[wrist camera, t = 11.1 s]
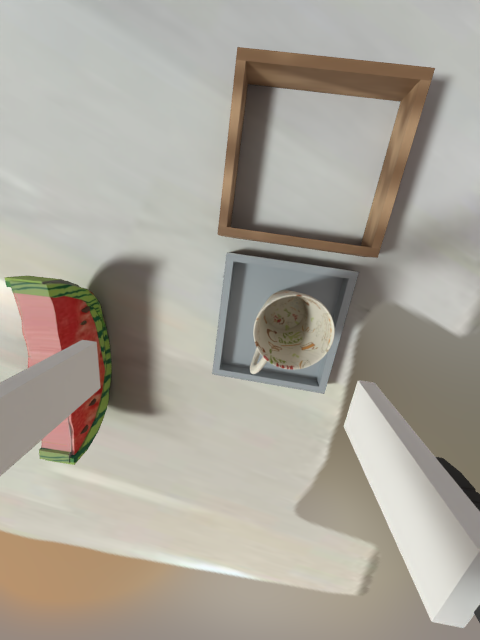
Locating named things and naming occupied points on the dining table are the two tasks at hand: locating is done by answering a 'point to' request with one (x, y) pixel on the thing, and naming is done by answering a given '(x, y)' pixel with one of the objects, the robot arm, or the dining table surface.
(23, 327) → the fruit slice
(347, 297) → the tray
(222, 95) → the dining table surface
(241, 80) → the corral
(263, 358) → the mug
